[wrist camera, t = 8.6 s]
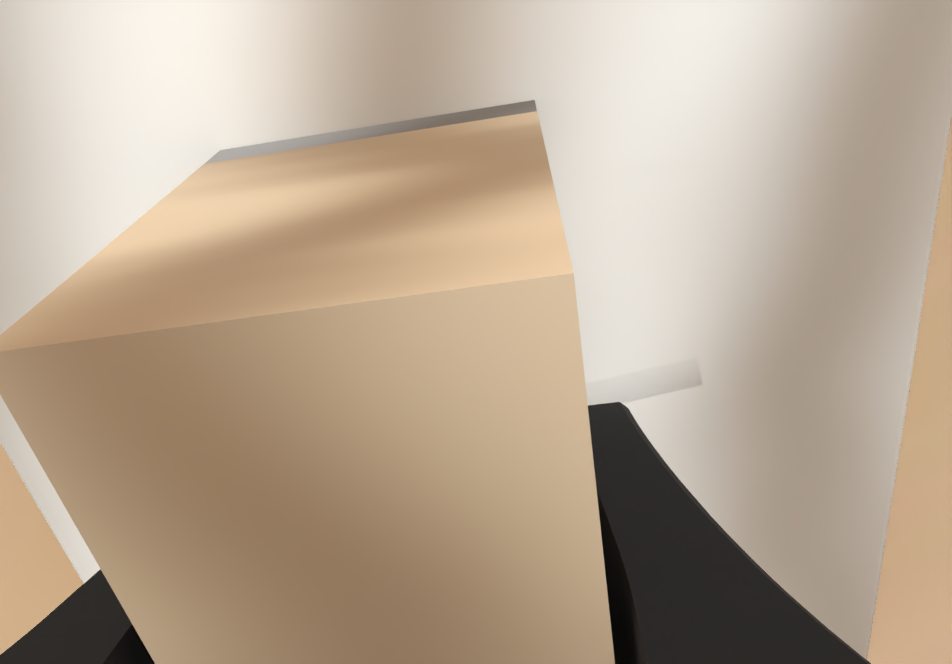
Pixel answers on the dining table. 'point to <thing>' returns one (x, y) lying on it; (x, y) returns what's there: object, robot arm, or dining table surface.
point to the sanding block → (333, 405)
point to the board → (571, 207)
